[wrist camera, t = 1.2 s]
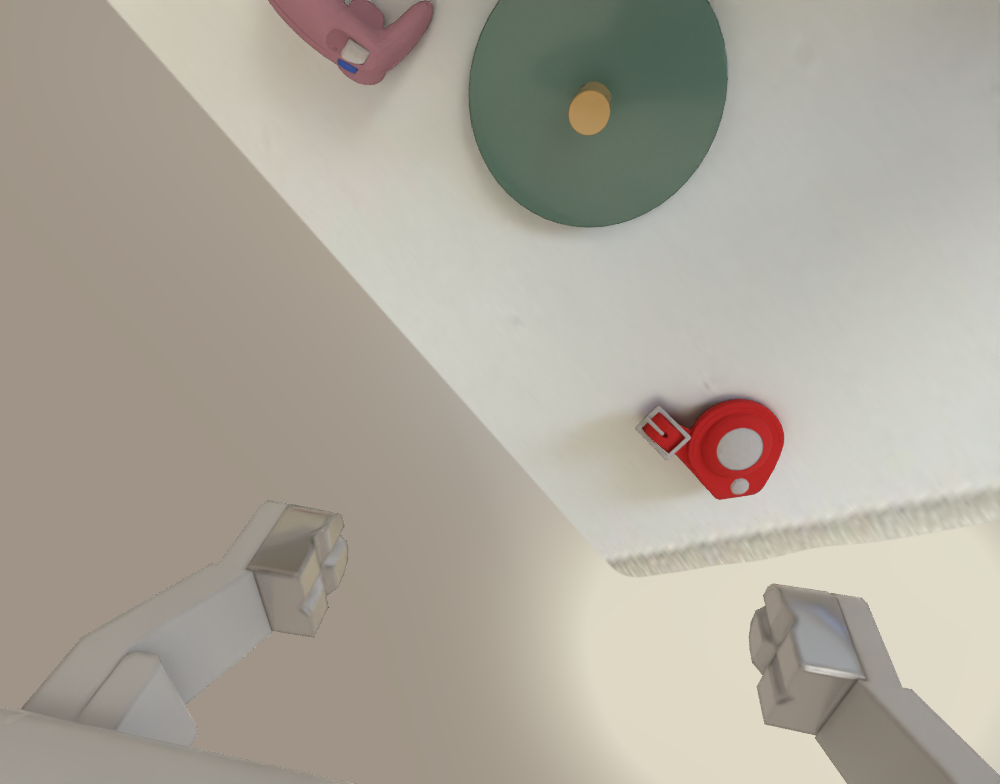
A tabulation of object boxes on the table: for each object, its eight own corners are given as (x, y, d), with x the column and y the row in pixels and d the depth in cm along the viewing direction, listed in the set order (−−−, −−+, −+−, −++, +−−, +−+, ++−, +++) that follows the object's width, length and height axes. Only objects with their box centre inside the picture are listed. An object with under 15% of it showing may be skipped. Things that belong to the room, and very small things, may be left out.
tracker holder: (790, 393, 46) (793, 502, 49) (765, 376, 50) (770, 478, 53) (638, 420, 47) (651, 525, 50) (627, 401, 51) (639, 500, 54)
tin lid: (574, -130, 31) (566, -149, 27) (784, 66, 35) (805, 77, 31) (429, 128, 40) (406, 143, 36) (606, 264, 44) (604, 293, 40)
